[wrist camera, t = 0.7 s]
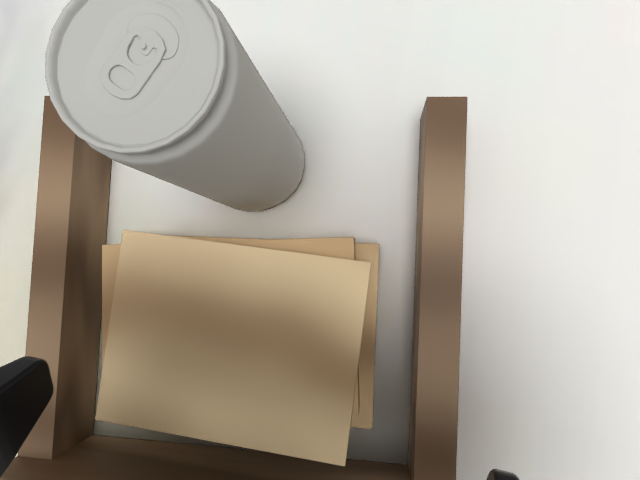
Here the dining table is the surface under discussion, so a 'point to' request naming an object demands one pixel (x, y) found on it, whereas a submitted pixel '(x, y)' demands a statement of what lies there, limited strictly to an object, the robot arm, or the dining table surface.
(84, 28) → the beverage can
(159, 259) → the offcut stack
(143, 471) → the offcut rack
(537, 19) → the dining table surface
